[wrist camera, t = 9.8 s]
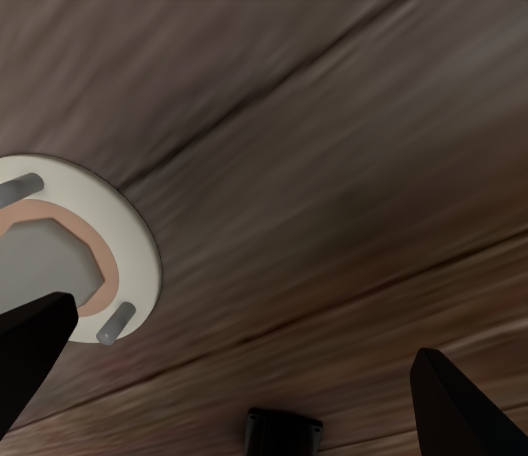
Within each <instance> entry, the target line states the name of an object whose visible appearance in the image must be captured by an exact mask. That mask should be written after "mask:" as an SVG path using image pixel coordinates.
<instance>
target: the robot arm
mask: <svg viewBox="0 0 528 456" xmlns="http://www.w3.org/2000/svg"><path fill="white" fill-rule="evenodd" d="M78 320H79V315H78V311H77V307H76V303H75V298H74V296H73V295H72V294H71V293H67V292H61V291H56V292H52V293H50V294H48V295H45V296H43V297H40V298H38V299H36V300H33V301H31V302H28V303H26V304H23V305H21V306H19V307H16V308H14V309H11V310H9V311H7V312H4V313H2V314H0V441H1V440H2V438H3V437H4V436H5V434H6V433H7V431H8V430H9V429H10V427H11V426H12V425H13V423H14V422H15V420H16V419H17V418H18V416H19V415H20V413H21V412H22V411H23V409H24V408H25V406H26V405H27V404H28V402H29V401H30V400H31V398H32V397H33V395H34V394H35V393H36V391H37V390H38V388H39V387H40V386H41V384H42V383H43V381H44V380H45V378H46V377H47V375H48V373H49V372H50V370H51V369H52V367H53V365H54V364H55V362H56V360H57V358H58V357H59V355H60V353H61V352H62V350H63V348H64V347H65V345H66V343H67V342H68V340H69V338H70V336H71V335H72V333H73V331H74V330H75V328H76V326H77V324H78ZM410 384H411V391H412V398H413V405H414V412H415V419H416V426H417V433H418V439H419V445H420V450H421V454H422V456H528V437H527V436H526V435H525V434H524V433H523V432H522V431H521V430H520V429H519V428H518V427H517V426H516V425H515V424H514V423H513V422H512V421H511V420H510V419H509V418H508V417H507V416H506V415H505V414H504V413H503V412H502V411H501V410H500V409H499V408H498V407H497V406H496V405H495V404H494V403H493V402H492V401H491V400H490V399H489V398H488V397H487V396H486V395H485V394H484V393H483V392H481V391H480V390H479V389H478V388H477V387H476V386H475V385H474V384H473V383H472V382H471V381H470V380H469V379H468V378H467V377H466V376H465V375H464V374H463V373H462V372H461V371H460V370H459V369H458V368H457V367H456V366H455V365H454V364H453V363H452V362H451V361H450V360H449V359H448V358H447V357H446V356H445V355H444V354H443V353H442V352H440V351H439V350H436V349H431V348H424V347H423V348H420V349H419V351H418V353H417V355H416V358H415V360H414V363H413V365H412V368H411V371H410ZM322 433H323V424H322V423H320V422H317V421H312V420H306V419H301V418H296V417H291V416H286V415H281V414H276V413H270V412H265V411H260V410H255V409H251V410H249V412H248V416H247V425H246V434H245V443H244V452H243V454H244V456H316V454H317V451H318V447H319V444H320V440H321V437H322Z"/></svg>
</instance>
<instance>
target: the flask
mask: <svg viewBox="0 0 528 456" xmlns="http://www.w3.org/2000/svg"><path fill="white" fill-rule="evenodd" d="M103 283H104V282H103V280H102V278H101V276H100V274H99V271H98V269H97V267H96V265H95V263H94V261H93V258H92V256H91V254H90V252H89V250H88V247H86V246H85V245H84V244H83V243H81V242H80V241H79V240H77V239H76V238H75V237H73V236H72V235H71V234H70V233H68V232H67V231H66V230H64V229H63V228H62V227H60V226H59V225H58V224H56V223H55V222H54V221H53V220H51V219H50V218H49V219H41V220H33V221H25V222H17V223H13V224H12V225H11V226H10V227H9V229H8V230H7V231H6V232H5V233H4V235H3V236H2V237H1V239H0V314H2V313H4V312H7V311H9V310H11V309H14V308H16V307H19V306H21V305H23V304H26V303H28V302H31V301H33V300H36V299H38V298H40V297H43V296H45V295H48V294H50V293H52V292H56V291H61V292H67V293H71V294H72V295H73V296H74V298H75V303H76V307H77V308H79V307H81V306H83V305H85V304H86V303H87V302H88V301H89V300H90V298H91V297H92V296H93V295H94V294H95V293H96V292H97V290H98V289H99V288H100V287H101V286H102V285H103Z"/></svg>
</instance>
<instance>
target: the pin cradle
mask: <svg viewBox="0 0 528 456" xmlns="http://www.w3.org/2000/svg"><path fill="white" fill-rule="evenodd" d="M49 218H50V219H51V220H53V221H54V222H55V223H56V224H58V225H59V226H60V227H62V228H63V229H64V230H66V231H67V232H68V233H70V234H71V235H72V236H73V237H75V238H76V239H77V240H79V241H80V242H81V243H83V244H84V245H85V246H86V247H88V250H89V252H90V254H91V256H92V258H93V261H94V263H95V265H96V267H97V269H98V271H99V274H100V276H101V278H102V280H103V282H104V283H103V285H102V286H101V287H100V288H99V289H98V290H97V292H96V293H95V294H94V295H93V296H92V297H91V298H90V300H89V301H88V302H87V303H86V304H85V305H83V306H81V307H79V308H77V311H78V315H79V320H78V324H77V326H76V328H75V330H74V331H73V333H72V335H71V336H70V338H69V340H70V341H76V342H84V343H99V342H100V343H101V344H103V345H112V344H113V343H114V341H115V340H116V339H119V338H122V337H124V336H126V335H128V334H130V333H132V332H133V331H134V330H136V329H137V328H138V327H139V326H140V325H141V324H142V323H143V322H144V321H145V320H146V318H147V317H148V315H149V314H150V312H151V311H152V309H153V308H154V306H155V304H156V303H157V300H158V297H159V295H160V291H161V286H162V266H161V259H160V256H159V252H158V248H157V246H156V243H155V241H154V239H153V236H152V234H151V232H150V231H149V229H148V227H147V225H146V223H145V222H144V221H143V219H142V218H141V216H140V215H139V214H138V212H137V211H136V210H135V208H134V207H133V206H132V205H131V204H130V203H129V202H128V201H127V199H126V198H125V197H124V196H122V195H121V194H120V193H119V192H118V191H117V190H116V189H115V188H114V187H112V186H111V185H110V184H108V183H107V182H106V181H104V180H103V179H102V178H100V177H99V176H97V175H95V174H94V173H92V172H90V171H89V170H87V169H85V168H83V167H81V166H79V165H76V164H74V163H72V162H69V161H66V160H63V159H60V158H57V157H53V156H48V155H43V154H31V153H25V154H14V155H10V156H6V157H2V158H0V239H1V237H2V236H3V235H4V233H5V232H6V231H7V230H8V229H9V227H10V226H11V225H12V224H13V223H17V222H25V221H33V220H41V219H49Z"/></svg>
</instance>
